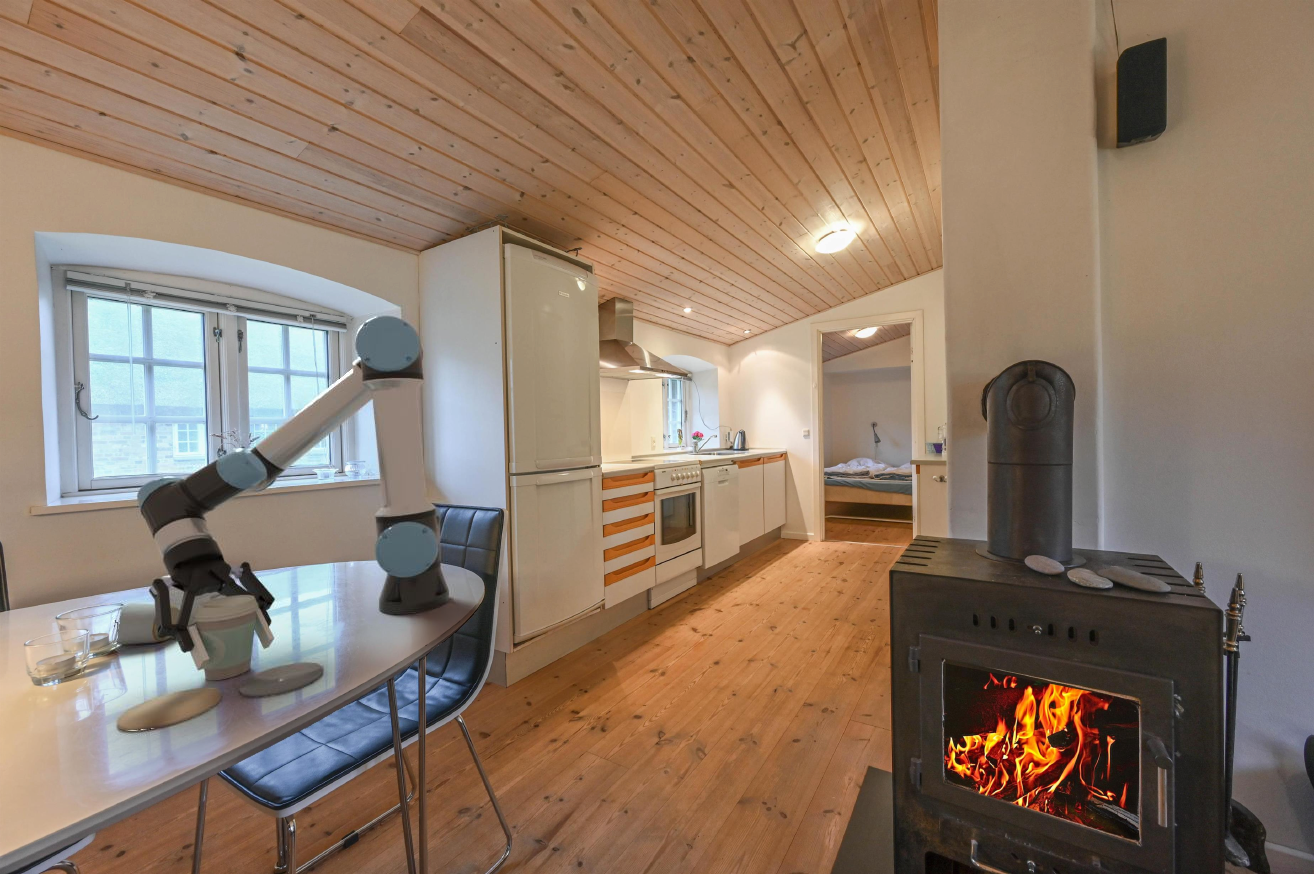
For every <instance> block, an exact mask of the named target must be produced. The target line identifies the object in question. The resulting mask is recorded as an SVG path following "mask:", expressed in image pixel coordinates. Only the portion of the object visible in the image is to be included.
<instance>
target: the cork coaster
mask: <svg viewBox="0 0 1314 874" xmlns="http://www.w3.org/2000/svg"><path fill="white" fill-rule="evenodd" d="M221 700H222V691H221V689H217V688H216V687H215V688H213V687H198V688H197V687H196V688H190V689H185V690H179V691H174V692H170V693H167V694H164V695H160V696H157V697H154V698H152V699H149V700H146V701H143V702H141V703H139V704H137V705H136V706H133V707H131V708H130V709H127V710H126V711H125V712H123V713H122V714H121V715H120V716H119V717H118V718H117V727H118V729H119V730H121V729H122V730H121V731H124V730H141V729H151V728H157V729H160V728H159V727H161V728H164V726H165V727H168V726H172V725H175V724H180V723H182V722H185V721H188V720H191V719H192V718H195V717H197V716H200V715H202V714H204V713H205V712H208V711H209V710H211V709H213V708H214V707H216V706H217V705H218V704H219V703H220V702H221ZM151 730H152V729H151Z"/></svg>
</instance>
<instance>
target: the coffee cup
mask: <svg viewBox="0 0 1314 874" xmlns="http://www.w3.org/2000/svg"><path fill="white" fill-rule="evenodd" d="M258 609H259V606H258V603H257V602H256V599H255V597H254V596H251V595H238V596H229V597H223V598H218V599H214V600H210V601H207V602H204V603H202V604H200V605H199V606H198V607H197V610H196V613H195V614H194V618H193V620H194V621H196V623H195V624H196V625H195V626H196V629H197V632H198V634H199V636H200V638H201V641H202V643H203V645H204V648H205V650H206V652H207V654H208V657H209V661H208V662H207V664H206V666H205V667H204V669H203V670H204V672H203V673H204V676H205V679H206V680H208V681H218V680H219V681H221V680H225V679H231V678H234V677H237V676H240V675H242V674H244V673H246V672H248V671H249V669H250V668H251V664H252V663H251V661H252V654H253V647H254V639H255V638H254V636H255V621H256V612H257V610H258Z"/></svg>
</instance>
